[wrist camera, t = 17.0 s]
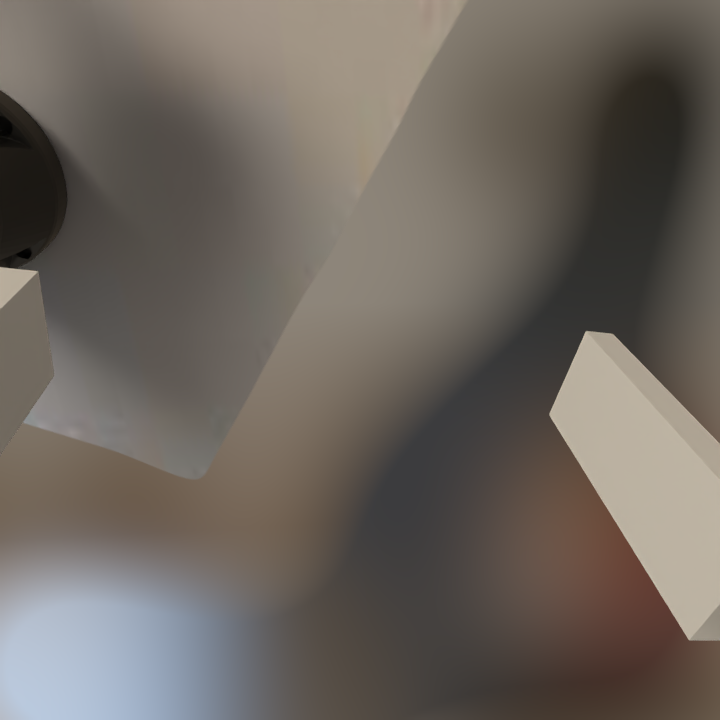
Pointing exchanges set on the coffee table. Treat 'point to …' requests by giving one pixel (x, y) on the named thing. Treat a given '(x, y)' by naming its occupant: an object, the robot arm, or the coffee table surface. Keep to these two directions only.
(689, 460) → the robot arm
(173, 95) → the coffee table surface
